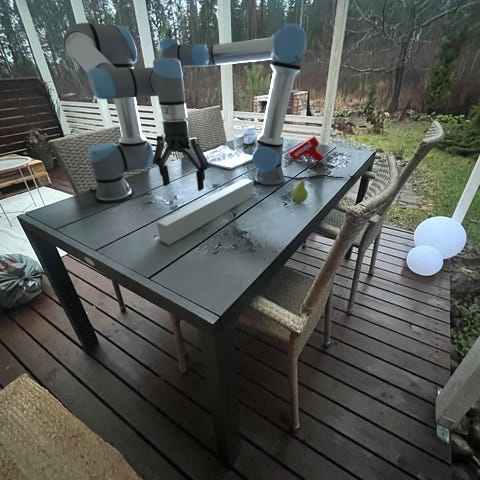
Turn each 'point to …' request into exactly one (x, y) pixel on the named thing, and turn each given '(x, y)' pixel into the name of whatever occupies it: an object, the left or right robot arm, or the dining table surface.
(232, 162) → the relief map
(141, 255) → the dining table surface
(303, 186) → the fruit
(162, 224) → the bar
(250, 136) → the ink box
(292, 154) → the toy gun
